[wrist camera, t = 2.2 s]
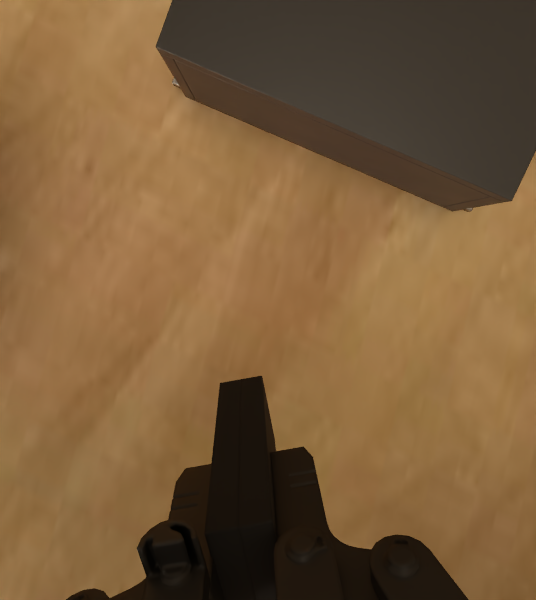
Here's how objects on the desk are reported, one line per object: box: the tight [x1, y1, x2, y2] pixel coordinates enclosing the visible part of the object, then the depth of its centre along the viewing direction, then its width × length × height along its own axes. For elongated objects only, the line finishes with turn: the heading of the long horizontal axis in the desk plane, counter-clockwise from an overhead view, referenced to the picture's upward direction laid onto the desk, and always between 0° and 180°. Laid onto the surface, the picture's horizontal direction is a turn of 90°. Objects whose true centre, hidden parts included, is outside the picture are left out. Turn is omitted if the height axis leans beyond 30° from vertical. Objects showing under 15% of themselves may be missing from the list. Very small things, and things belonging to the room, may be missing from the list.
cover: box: [156, 0, 536, 211], centre depth 27 cm, size 20×13×8 cm, turn 67°
